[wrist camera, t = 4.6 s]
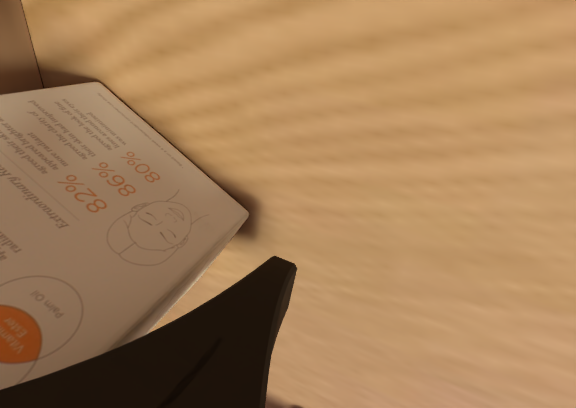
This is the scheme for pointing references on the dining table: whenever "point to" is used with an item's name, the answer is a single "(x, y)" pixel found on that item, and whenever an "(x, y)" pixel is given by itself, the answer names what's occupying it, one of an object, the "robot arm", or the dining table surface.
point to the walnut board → (16, 51)
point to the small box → (94, 227)
